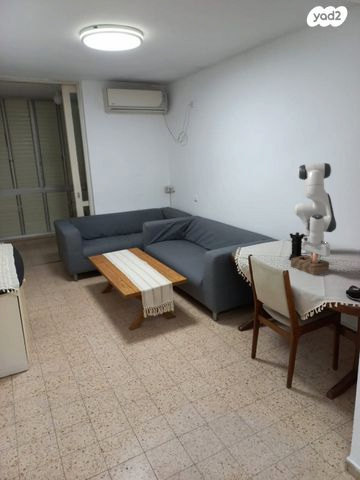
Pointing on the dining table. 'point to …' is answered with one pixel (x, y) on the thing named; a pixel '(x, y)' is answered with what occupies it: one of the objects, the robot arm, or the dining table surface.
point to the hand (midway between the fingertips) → (315, 259)
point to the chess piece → (296, 245)
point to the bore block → (309, 265)
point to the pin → (315, 258)
